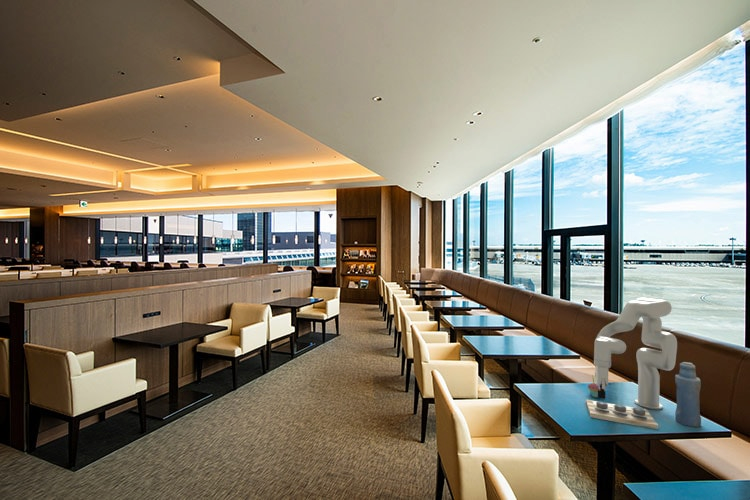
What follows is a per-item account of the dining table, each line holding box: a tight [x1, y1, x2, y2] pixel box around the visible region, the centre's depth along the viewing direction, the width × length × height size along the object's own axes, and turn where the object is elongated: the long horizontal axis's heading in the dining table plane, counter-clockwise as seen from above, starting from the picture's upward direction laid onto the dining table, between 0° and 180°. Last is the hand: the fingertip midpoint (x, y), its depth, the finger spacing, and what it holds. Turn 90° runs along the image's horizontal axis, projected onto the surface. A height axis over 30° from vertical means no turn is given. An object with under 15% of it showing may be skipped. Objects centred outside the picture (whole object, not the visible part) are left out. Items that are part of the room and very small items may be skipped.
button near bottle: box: [633, 407, 645, 416], centre depth 181 cm, size 5×5×2 cm
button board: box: [585, 399, 659, 430], centre depth 187 cm, size 20×28×2 cm
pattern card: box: [592, 400, 633, 411], centre depth 192 cm, size 5×22×1 cm, turn 65°
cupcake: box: [587, 374, 598, 398], centre depth 213 cm, size 9×8×12 cm
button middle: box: [614, 404, 626, 412], centre depth 184 cm, size 5×5×2 cm
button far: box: [596, 401, 608, 409], centre depth 187 cm, size 5×5×2 cm
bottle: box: [674, 361, 702, 428], centre depth 180 cm, size 10×10×30 cm
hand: (601, 397), depth 187 cm, fingers closed
